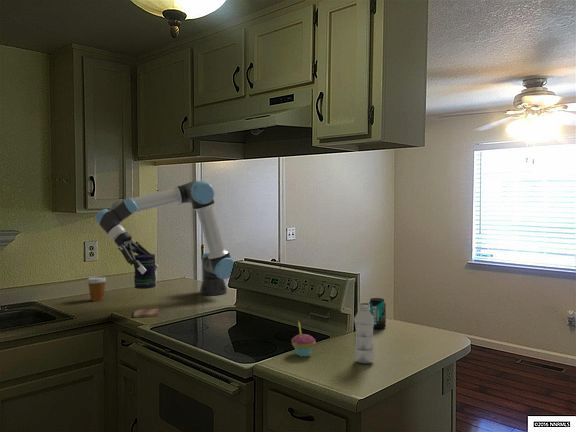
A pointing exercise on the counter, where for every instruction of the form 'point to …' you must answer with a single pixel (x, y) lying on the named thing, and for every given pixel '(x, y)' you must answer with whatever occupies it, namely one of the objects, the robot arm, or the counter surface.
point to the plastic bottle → (364, 334)
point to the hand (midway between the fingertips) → (150, 270)
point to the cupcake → (303, 343)
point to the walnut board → (146, 313)
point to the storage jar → (149, 276)
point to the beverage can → (378, 312)
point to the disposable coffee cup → (97, 288)
